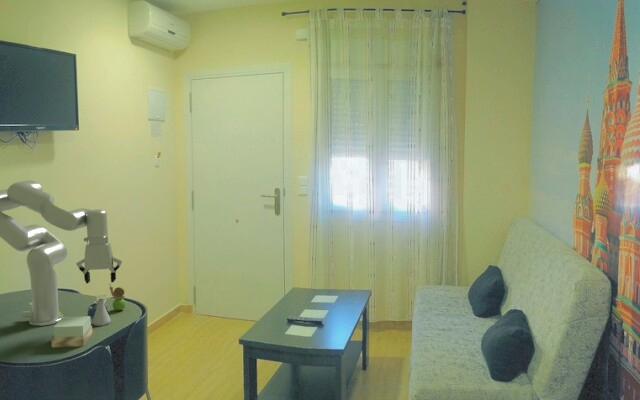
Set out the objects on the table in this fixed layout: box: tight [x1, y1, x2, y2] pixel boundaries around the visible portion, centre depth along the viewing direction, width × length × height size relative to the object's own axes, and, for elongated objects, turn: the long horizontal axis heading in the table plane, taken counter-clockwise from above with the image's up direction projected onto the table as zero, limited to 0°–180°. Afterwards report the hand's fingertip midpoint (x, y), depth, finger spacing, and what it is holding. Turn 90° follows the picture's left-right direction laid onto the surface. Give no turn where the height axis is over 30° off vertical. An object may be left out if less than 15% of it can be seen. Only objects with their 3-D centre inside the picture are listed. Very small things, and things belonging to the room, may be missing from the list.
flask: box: [91, 297, 112, 327], centre depth 213 cm, size 7×7×10 cm
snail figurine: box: [108, 283, 126, 312], centre depth 228 cm, size 5×6×12 cm
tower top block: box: [53, 315, 92, 338], centre depth 195 cm, size 10×10×4 cm
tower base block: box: [50, 324, 93, 348], centre depth 196 cm, size 11×11×4 cm
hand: (100, 282), depth 211 cm, fingers open, 9 cm apart
